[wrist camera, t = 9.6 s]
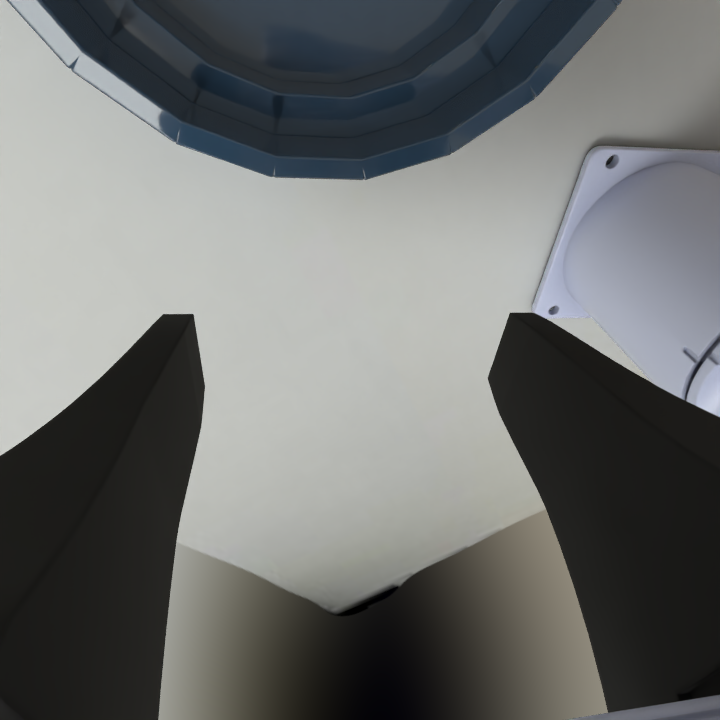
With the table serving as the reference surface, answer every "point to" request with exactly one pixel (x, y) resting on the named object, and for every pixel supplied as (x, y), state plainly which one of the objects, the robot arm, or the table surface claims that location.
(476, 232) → the table surface
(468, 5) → the bowl
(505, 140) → the table surface
